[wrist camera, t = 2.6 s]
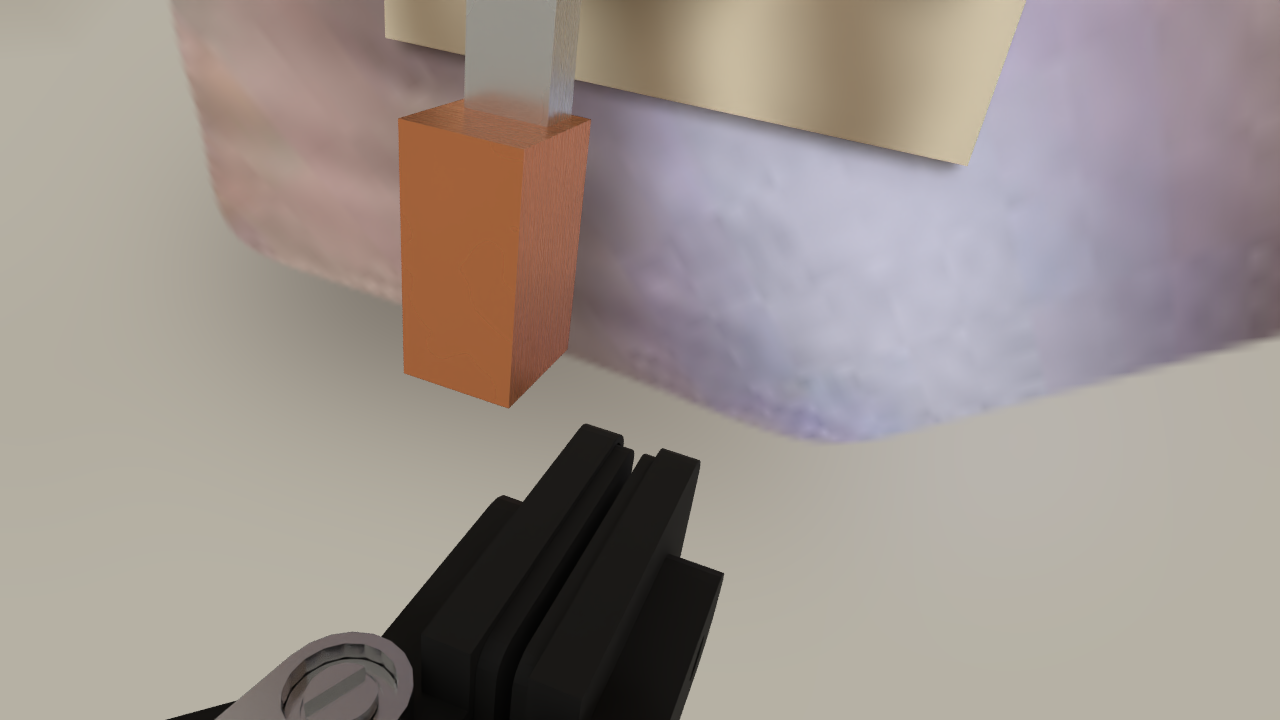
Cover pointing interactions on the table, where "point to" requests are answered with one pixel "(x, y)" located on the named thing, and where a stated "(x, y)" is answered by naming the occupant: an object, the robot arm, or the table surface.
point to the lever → (495, 206)
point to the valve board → (787, 60)
